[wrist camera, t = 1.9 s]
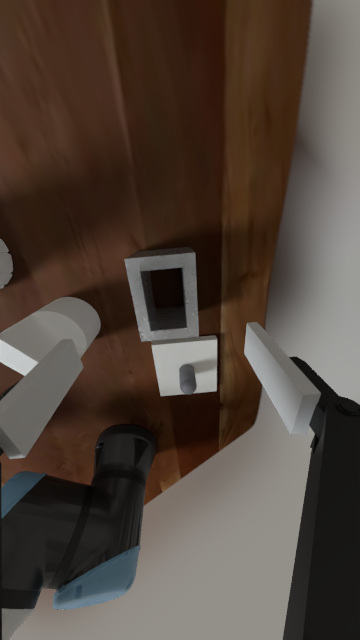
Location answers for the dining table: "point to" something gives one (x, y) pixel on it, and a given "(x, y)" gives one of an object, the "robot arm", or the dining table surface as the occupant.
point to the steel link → (148, 318)
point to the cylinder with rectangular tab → (48, 333)
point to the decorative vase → (5, 265)
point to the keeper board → (186, 355)
